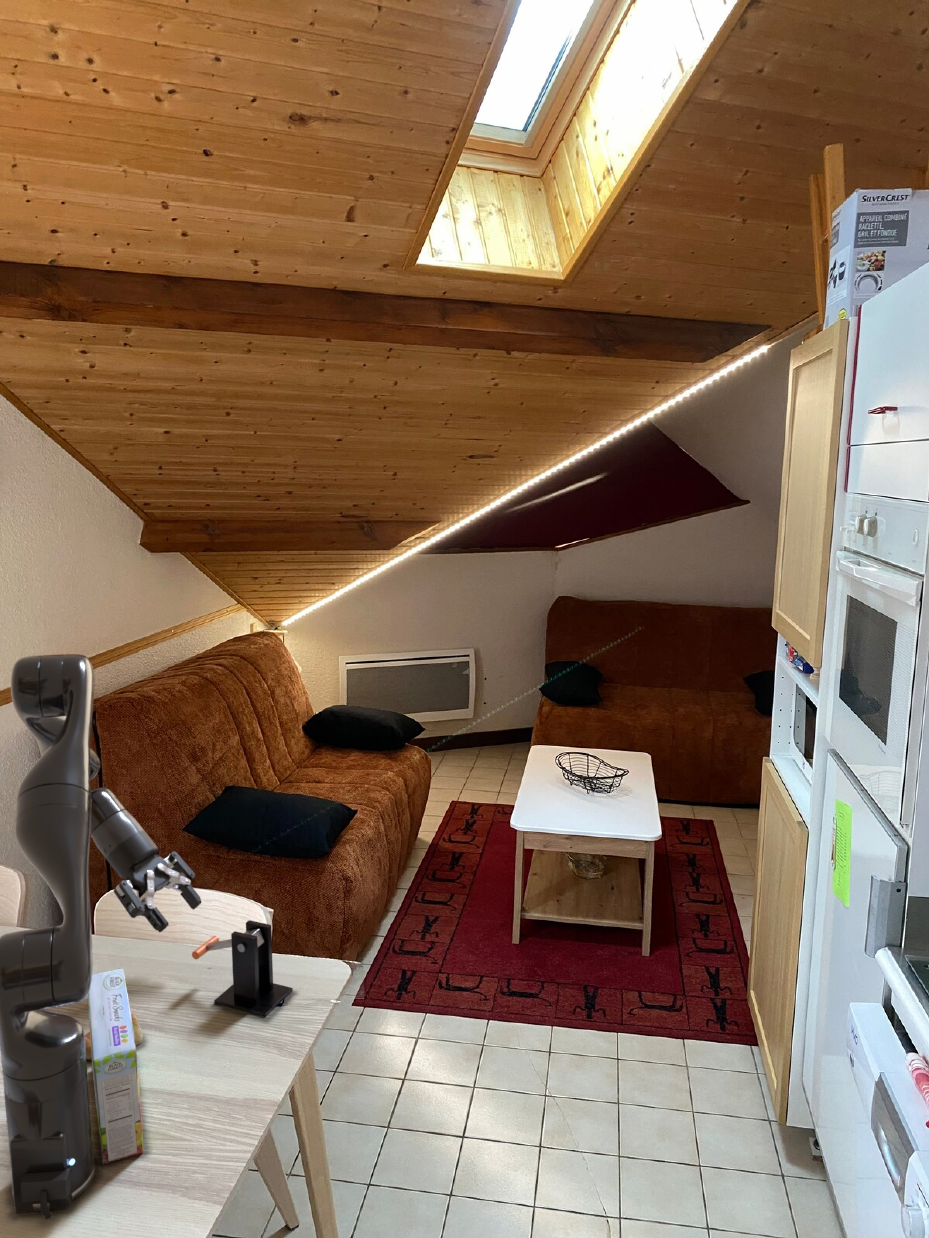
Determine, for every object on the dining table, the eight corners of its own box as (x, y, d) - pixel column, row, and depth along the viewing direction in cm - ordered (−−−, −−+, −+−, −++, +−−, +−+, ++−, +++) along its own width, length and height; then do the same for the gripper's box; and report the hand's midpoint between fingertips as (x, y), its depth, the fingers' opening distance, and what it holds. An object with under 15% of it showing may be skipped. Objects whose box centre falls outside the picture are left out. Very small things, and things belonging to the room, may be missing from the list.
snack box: (91, 1068, 134) (85, 973, 131) (132, 1058, 136) (126, 965, 133) (99, 1167, 114) (92, 1059, 112) (146, 1153, 117) (140, 1047, 114)
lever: (194, 962, 151) (189, 949, 151) (214, 946, 156) (210, 933, 156) (250, 953, 146) (246, 939, 146) (270, 937, 151) (265, 923, 151)
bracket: (214, 1006, 149) (211, 934, 147) (243, 981, 156) (240, 912, 154) (265, 1020, 145) (263, 946, 143) (292, 994, 152) (290, 923, 150)
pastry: (83, 1070, 133) (81, 1047, 132) (70, 1048, 138) (68, 1025, 138) (146, 1045, 139) (145, 1022, 138) (131, 1025, 144) (130, 1003, 143)
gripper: (105, 846, 148) (165, 924, 146) (163, 816, 161) (219, 887, 159) (82, 871, 151) (141, 948, 149) (141, 840, 164) (196, 910, 162)
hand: (181, 917), depth 154 cm, fingers open, 8 cm apart
